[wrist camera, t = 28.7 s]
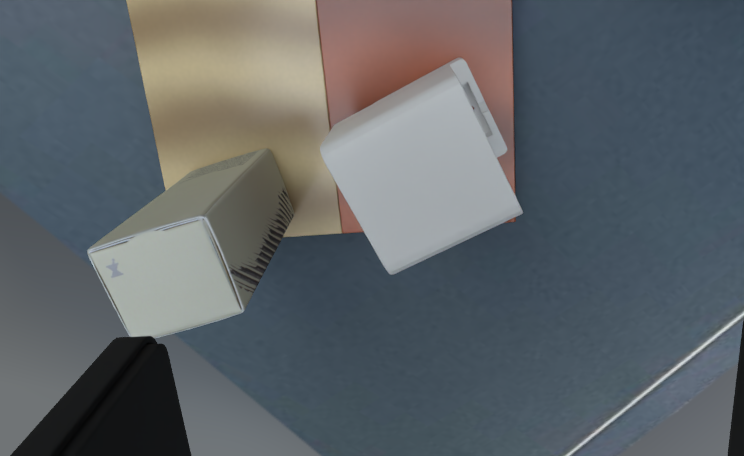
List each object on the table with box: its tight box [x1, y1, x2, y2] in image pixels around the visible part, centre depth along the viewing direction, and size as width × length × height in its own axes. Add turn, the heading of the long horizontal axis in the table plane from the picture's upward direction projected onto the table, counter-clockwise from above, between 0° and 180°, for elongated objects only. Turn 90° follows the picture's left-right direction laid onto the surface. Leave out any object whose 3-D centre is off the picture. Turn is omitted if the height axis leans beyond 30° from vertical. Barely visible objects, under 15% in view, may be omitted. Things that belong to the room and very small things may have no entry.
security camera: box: [320, 58, 523, 275], centre depth 29 cm, size 6×7×10 cm
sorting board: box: [126, 0, 516, 237], centre depth 33 cm, size 24×20×1 cm
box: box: [87, 148, 294, 338], centre depth 30 cm, size 5×4×13 cm
